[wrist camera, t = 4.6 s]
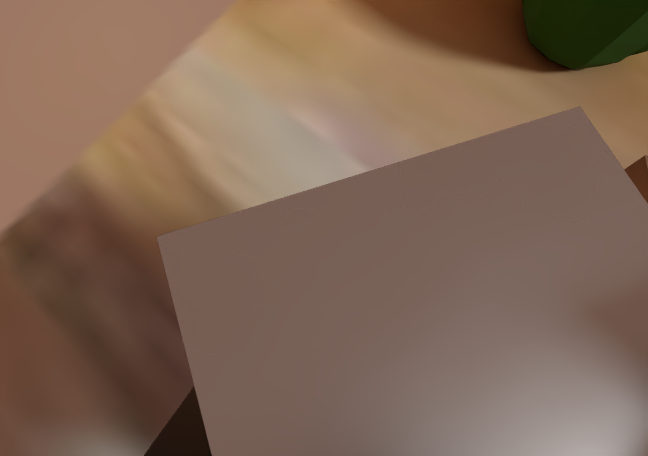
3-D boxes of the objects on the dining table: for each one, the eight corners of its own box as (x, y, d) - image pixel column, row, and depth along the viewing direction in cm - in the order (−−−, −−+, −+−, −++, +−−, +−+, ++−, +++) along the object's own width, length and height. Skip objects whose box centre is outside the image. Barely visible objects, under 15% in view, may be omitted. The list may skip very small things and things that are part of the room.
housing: (472, 454, 14) (1010, 635, 3) (295, 537, 12) (294, 1175, 2) (396, 282, 16) (590, 64, 5) (237, 340, 14) (94, 206, 4)
